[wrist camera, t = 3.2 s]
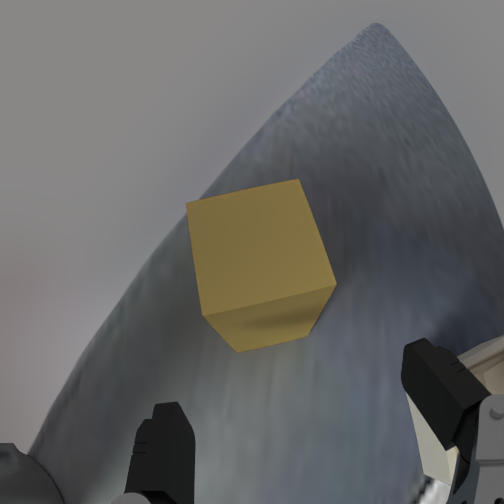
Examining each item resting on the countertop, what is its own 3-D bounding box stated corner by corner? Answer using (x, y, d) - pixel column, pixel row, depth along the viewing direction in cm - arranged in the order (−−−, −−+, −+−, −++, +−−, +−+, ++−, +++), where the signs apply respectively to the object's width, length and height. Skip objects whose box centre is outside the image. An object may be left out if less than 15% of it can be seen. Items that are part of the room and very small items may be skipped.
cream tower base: (422, 473, 16) (451, 485, 12) (402, 381, 19) (429, 377, 15) (497, 427, 16) (531, 427, 12) (479, 344, 19) (511, 331, 15)
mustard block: (237, 353, 21) (202, 315, 11) (223, 287, 23) (185, 203, 13) (307, 336, 21) (336, 284, 11) (289, 272, 23) (298, 178, 13)
